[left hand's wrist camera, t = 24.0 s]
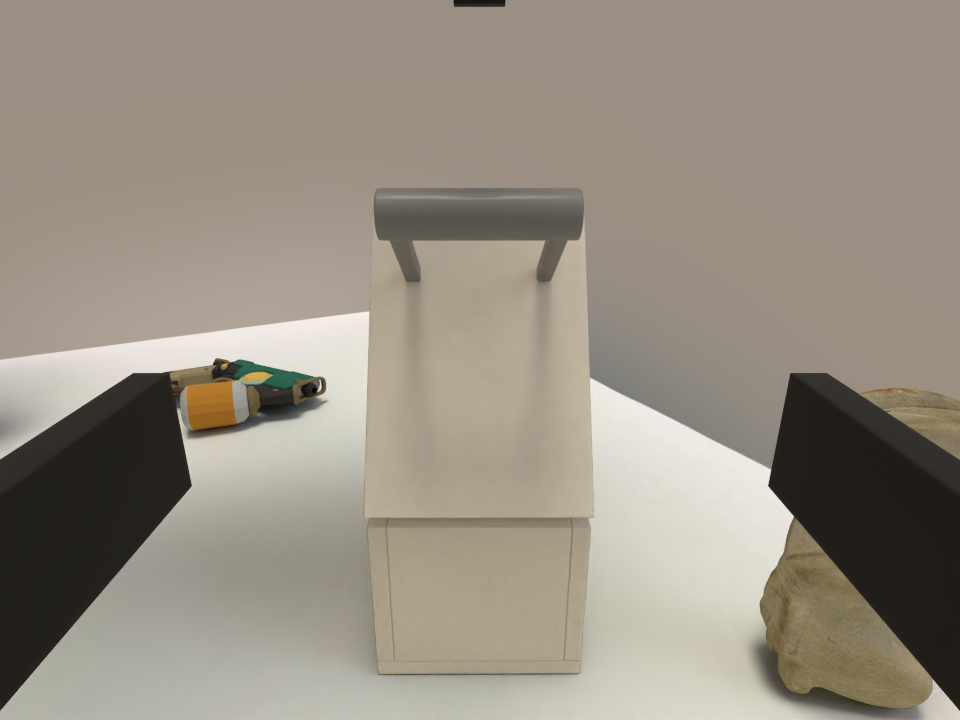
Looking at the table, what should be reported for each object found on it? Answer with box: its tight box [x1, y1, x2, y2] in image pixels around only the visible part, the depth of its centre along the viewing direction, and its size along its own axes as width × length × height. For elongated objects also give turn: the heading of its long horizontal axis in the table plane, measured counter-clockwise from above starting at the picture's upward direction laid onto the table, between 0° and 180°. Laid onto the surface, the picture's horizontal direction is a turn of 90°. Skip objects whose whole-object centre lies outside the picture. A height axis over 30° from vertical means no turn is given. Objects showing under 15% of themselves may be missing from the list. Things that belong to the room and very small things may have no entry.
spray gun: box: [164, 358, 326, 430], centre depth 60 cm, size 4×17×15 cm
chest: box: [367, 518, 591, 674], centre depth 34 cm, size 14×10×9 cm
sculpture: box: [760, 388, 960, 708], centre depth 27 cm, size 6×7×15 cm
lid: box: [364, 188, 594, 518], centre depth 24 cm, size 14×10×9 cm
